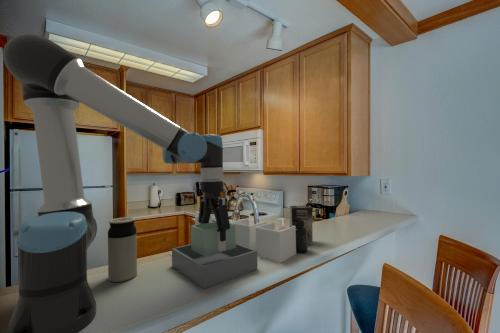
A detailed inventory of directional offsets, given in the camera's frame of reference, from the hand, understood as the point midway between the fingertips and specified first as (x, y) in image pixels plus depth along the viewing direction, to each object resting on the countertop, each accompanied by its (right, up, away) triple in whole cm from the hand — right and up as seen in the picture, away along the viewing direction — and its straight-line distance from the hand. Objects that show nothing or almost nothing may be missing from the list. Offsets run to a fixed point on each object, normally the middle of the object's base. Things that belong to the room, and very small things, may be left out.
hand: (213, 247), depth 83 cm
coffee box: (+35, -7, +25) cm, 44 cm away
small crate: (0, -1, 0) cm, 1 cm away
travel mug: (-27, -7, -6) cm, 29 cm away
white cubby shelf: (+17, -7, +15) cm, 24 cm away
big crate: (0, -7, 0) cm, 7 cm away
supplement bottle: (+32, -7, +15) cm, 36 cm away
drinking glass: (-6, -7, +15) cm, 18 cm away
